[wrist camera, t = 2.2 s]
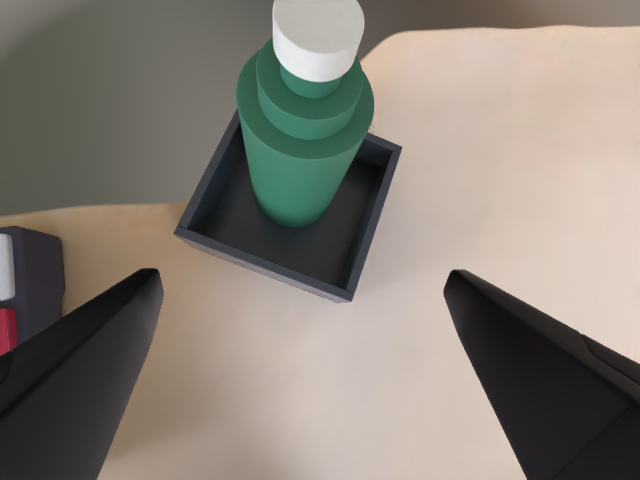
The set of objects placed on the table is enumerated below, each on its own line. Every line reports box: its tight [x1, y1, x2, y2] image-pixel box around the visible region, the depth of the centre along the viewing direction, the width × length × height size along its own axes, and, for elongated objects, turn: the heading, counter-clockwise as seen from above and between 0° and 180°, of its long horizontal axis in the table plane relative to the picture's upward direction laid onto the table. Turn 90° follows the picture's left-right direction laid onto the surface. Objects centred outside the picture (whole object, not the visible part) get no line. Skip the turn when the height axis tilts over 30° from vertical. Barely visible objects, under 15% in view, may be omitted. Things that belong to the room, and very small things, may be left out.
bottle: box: [236, 0, 374, 228], centre depth 17 cm, size 6×6×15 cm
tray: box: [174, 108, 402, 303], centre depth 22 cm, size 12×12×4 cm
